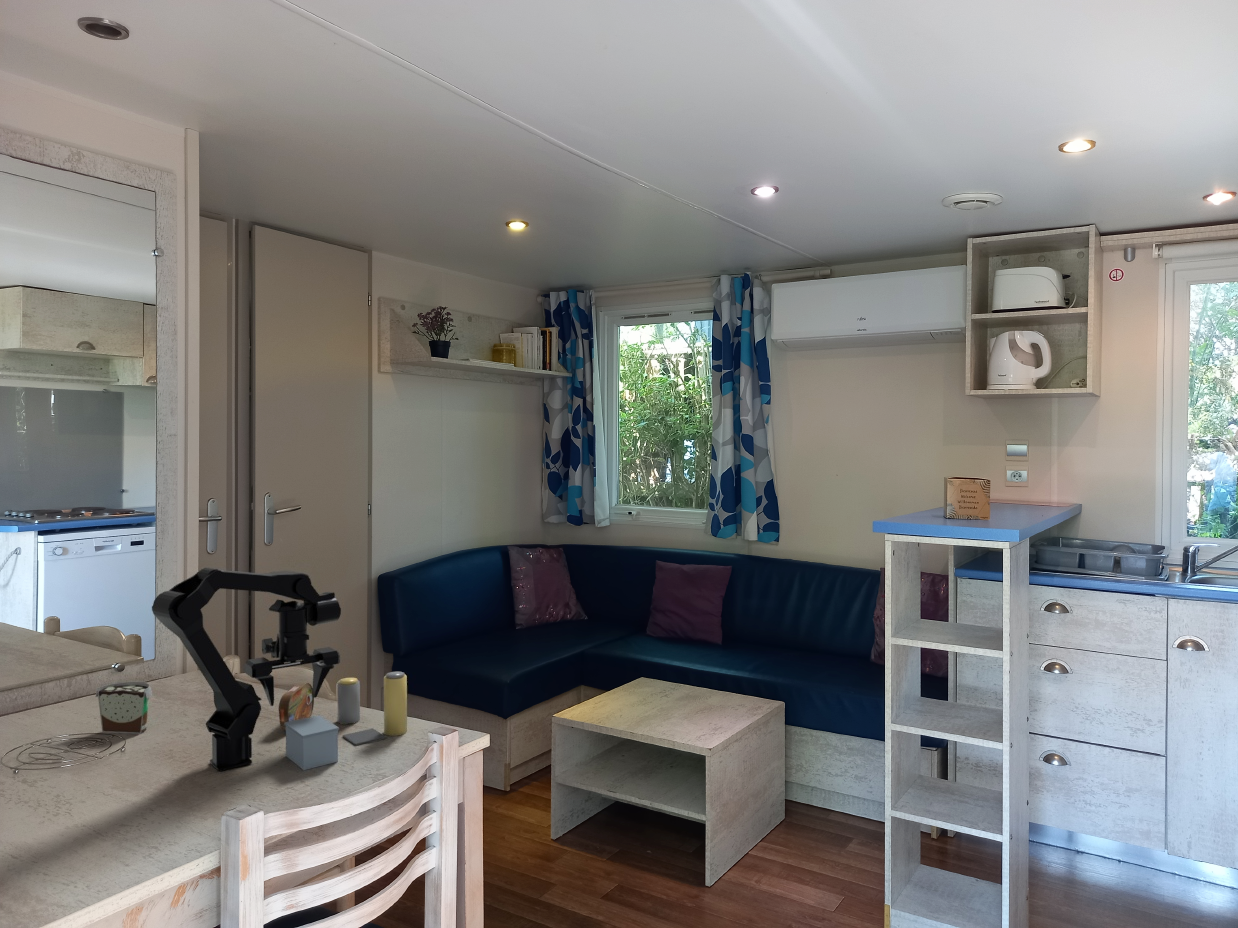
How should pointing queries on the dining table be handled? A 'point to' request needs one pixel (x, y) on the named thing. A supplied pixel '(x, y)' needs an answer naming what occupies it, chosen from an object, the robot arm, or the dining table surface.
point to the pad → (364, 736)
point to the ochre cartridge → (395, 703)
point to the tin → (296, 704)
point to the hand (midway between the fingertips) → (293, 701)
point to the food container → (124, 707)
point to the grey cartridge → (348, 700)
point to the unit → (311, 742)
